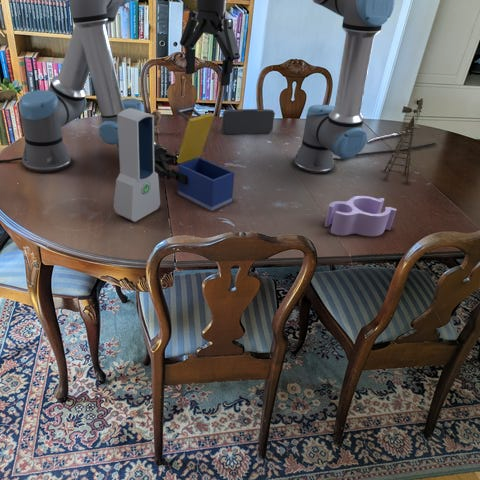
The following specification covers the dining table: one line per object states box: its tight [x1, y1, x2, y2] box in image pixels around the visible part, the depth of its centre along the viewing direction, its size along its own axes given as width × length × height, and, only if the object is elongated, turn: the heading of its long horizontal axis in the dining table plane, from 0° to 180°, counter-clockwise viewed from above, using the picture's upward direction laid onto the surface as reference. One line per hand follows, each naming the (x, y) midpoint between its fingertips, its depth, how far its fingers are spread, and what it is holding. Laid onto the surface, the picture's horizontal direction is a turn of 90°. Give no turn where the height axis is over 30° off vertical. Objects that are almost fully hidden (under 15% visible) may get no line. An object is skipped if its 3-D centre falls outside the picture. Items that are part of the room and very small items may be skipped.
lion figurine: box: [150, 110, 162, 127], centre depth 189 cm, size 15×5×9 cm, turn 110°
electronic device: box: [112, 108, 161, 223], centre depth 130 cm, size 12×8×30 cm, turn 148°
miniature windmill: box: [383, 97, 424, 184], centre depth 169 cm, size 9×8×30 cm
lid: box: [175, 105, 215, 164], centre depth 144 cm, size 16×10×8 cm
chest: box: [177, 156, 235, 212], centre depth 147 cm, size 15×10×10 cm, turn 50°
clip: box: [324, 195, 398, 237], centre depth 141 cm, size 20×12×7 cm, turn 109°
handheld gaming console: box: [221, 108, 276, 135], centre depth 201 cm, size 23×3×10 cm, turn 108°
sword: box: [367, 131, 410, 144], centre depth 215 cm, size 31×3×1 cm, turn 126°
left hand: (198, 175), depth 148 cm, fingers closed on chest, 10 cm apart
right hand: (207, 79), depth 131 cm, fingers open, 13 cm apart
